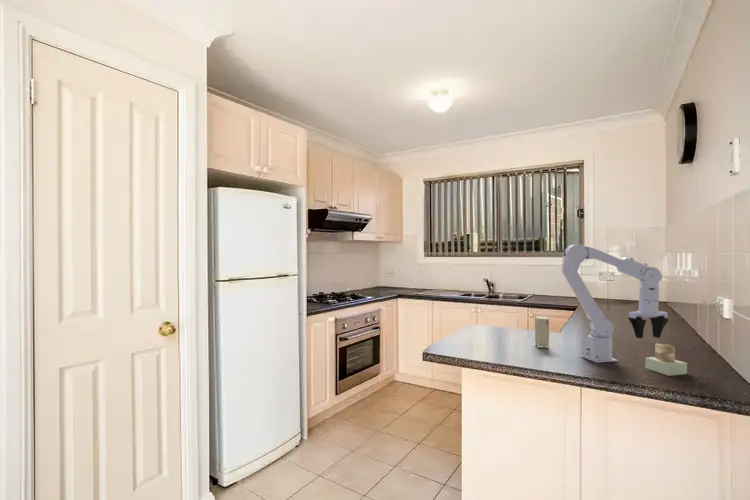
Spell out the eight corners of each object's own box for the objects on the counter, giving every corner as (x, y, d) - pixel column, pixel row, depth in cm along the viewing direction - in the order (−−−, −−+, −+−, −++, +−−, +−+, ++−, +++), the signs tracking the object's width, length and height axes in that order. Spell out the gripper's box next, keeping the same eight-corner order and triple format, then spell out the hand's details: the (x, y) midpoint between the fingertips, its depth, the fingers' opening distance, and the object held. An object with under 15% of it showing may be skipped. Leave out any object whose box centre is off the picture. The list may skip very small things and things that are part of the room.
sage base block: (668, 376, 125) (668, 364, 125) (645, 369, 133) (645, 357, 133) (686, 375, 127) (687, 363, 127) (663, 367, 135) (663, 356, 135)
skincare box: (549, 349, 156) (549, 319, 156) (537, 348, 157) (538, 318, 157) (545, 345, 163) (546, 316, 162) (534, 344, 163) (535, 316, 163)
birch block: (660, 361, 129) (661, 346, 129) (655, 357, 132) (655, 343, 132) (674, 362, 128) (674, 347, 128) (668, 358, 132) (668, 344, 132)
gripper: (655, 298, 144) (654, 334, 144) (622, 298, 141) (621, 335, 141) (673, 300, 137) (672, 338, 137) (639, 301, 134) (638, 340, 134)
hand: (647, 337), depth 138 cm, fingers open, 7 cm apart
